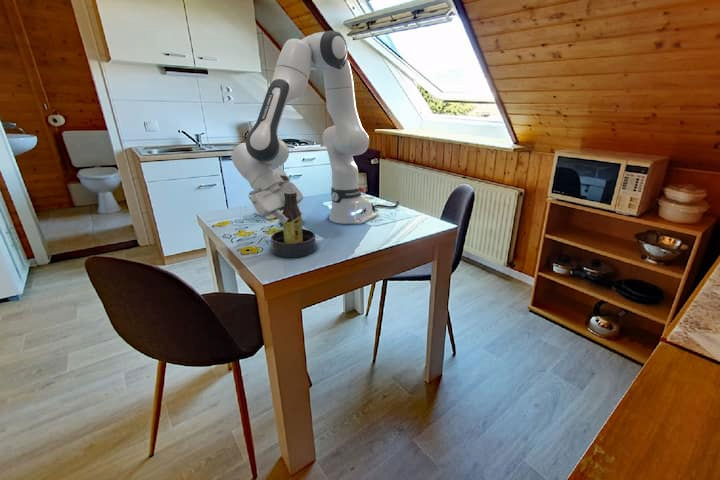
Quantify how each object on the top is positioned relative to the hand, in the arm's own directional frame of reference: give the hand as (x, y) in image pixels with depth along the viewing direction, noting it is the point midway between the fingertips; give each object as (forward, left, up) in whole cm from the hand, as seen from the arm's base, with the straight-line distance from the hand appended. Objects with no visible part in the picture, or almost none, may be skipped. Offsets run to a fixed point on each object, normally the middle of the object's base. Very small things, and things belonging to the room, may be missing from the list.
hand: (293, 218), depth 115 cm
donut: (-16, -25, -12) cm, 31 cm away
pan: (0, -1, -11) cm, 11 cm away
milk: (-18, -42, -12) cm, 47 cm away
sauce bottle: (0, -1, -11) cm, 11 cm away
